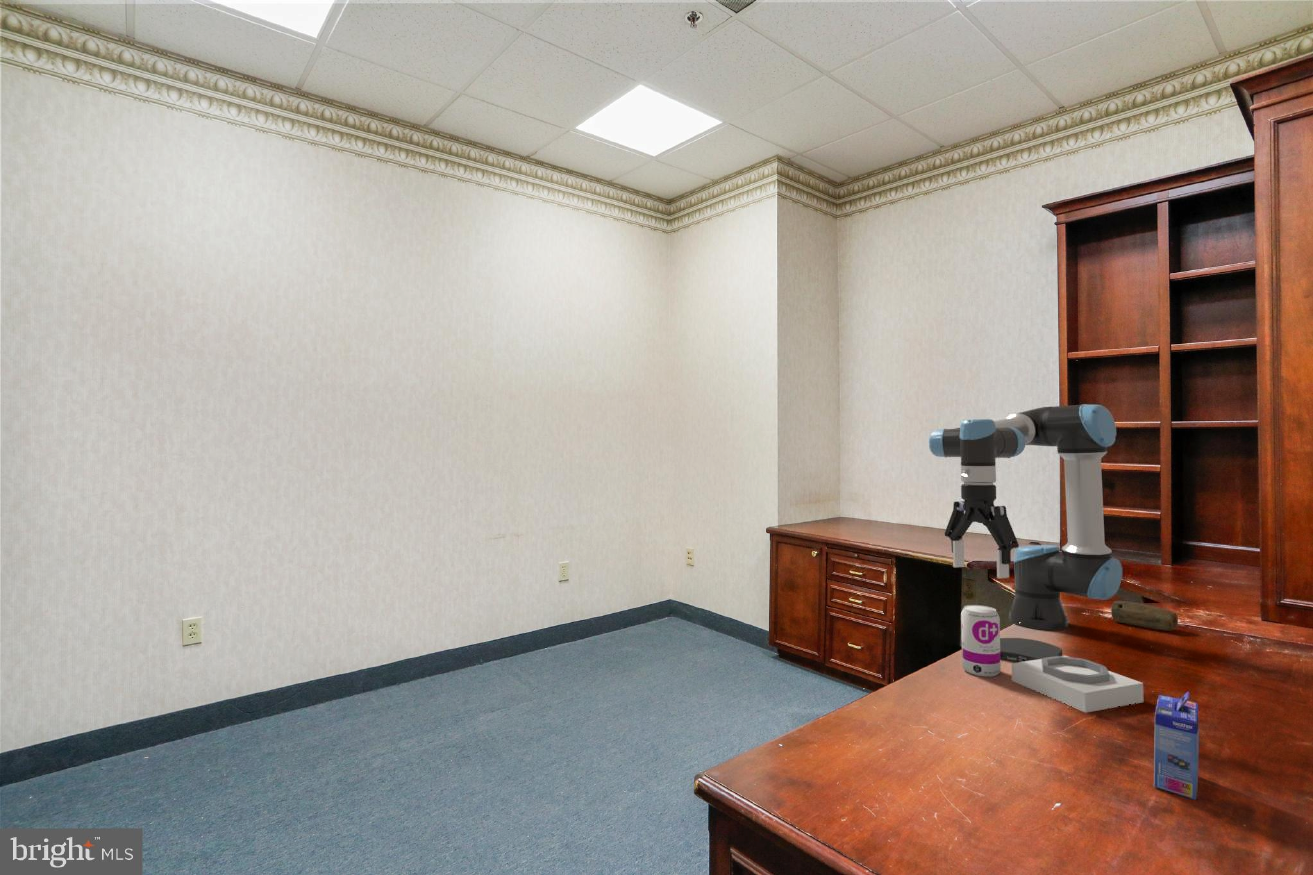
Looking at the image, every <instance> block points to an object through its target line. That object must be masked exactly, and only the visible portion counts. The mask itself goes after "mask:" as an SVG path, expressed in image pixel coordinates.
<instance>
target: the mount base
mask: <svg viewBox="0 0 1313 875" xmlns="http://www.w3.org/2000/svg"><path fill="white" fill-rule="evenodd" d="M1011 681H1012V682H1014V683H1016V684H1019V685H1021V686H1022V687H1025V686H1026V687H1025V688H1026V689H1027V688H1028V689H1030V690H1033V691H1034V690H1035V692H1037V693H1039V692H1040V693H1039V694H1042V695H1043V694H1044V696H1046V695H1047V697H1049V698H1050V697H1051V698H1050V699H1052V700H1055V699H1056V700H1055V701H1057V700H1058V701H1057V702H1060V701H1061V702H1060V703H1062V704H1064V703H1065V704H1064V705H1066V704H1067V706H1068V707H1071V706H1072V707H1071V708H1074V709H1076V710H1078V711H1080V712H1082V713H1086V714H1087V713H1091V712H1096V711H1102V710H1108V708H1109V709H1113V708H1119V707H1118V706H1120V707H1126V706H1130V705H1129V704H1131V705H1136V704H1140V703H1145V701H1144V682H1142V681H1138V680H1136V679H1133V678H1130V677H1127V676H1125V675H1121V674H1119V673H1116V672H1113V671H1110V670H1108V669H1107V667H1106V666H1105V665H1103V664H1100V663H1097V662H1094V661H1092V660H1088V659H1085V658H1079V657H1073V656H1071V657H1070V656H1068V655H1062V656H1054V657H1047V658H1042V659H1038V660H1031V661H1024V662H1017V663H1015V662H1011ZM1135 703H1136V704H1135Z"/></svg>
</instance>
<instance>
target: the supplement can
mask: <svg viewBox="0 0 1313 875" xmlns="http://www.w3.org/2000/svg"><path fill="white" fill-rule="evenodd" d="M960 621H961V622H960V624H961V625H960V628H961V630H960V631H961V635H960V636H961V666H962V668H963V669H964V671H965V672H967V673H968V674H970V675H974V676H978V677H986V678H987V677H989V678H990V677H991V678H992V677H996V676H998V674H1000V673H1001V671H1002V669H1001V664H1002V663H1001V659H1000V638H1001V624H1000V623H1001V620H1000V616H999V614H998V611H997V609H996V608H994V607H990V606H986V605H979V604H969V605H964V606H963V608H962V611H961V613H960Z"/></svg>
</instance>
